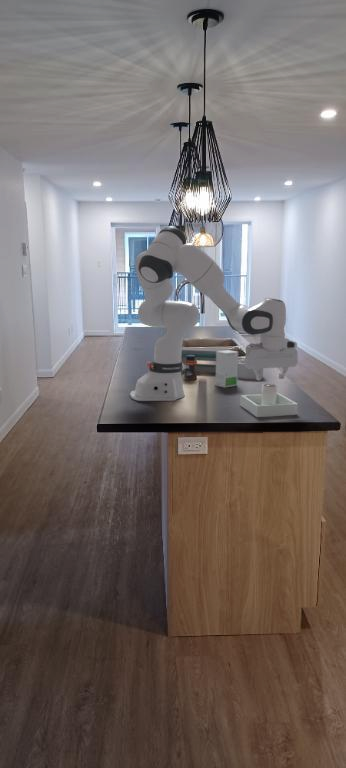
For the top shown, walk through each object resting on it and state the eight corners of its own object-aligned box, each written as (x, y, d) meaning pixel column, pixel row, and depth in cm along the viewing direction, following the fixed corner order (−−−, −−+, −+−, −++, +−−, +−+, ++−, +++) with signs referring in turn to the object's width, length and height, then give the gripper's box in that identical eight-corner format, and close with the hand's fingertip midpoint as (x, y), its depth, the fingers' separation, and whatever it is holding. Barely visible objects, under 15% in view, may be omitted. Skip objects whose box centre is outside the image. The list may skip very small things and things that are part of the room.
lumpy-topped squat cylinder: (263, 379, 252) (264, 361, 250) (236, 379, 252) (237, 361, 250) (259, 374, 262) (260, 357, 260) (233, 374, 262) (234, 357, 260)
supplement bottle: (196, 377, 254) (196, 354, 251) (197, 380, 248) (197, 356, 245) (183, 377, 253) (184, 354, 251) (184, 380, 248) (184, 356, 245)
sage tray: (256, 417, 191) (257, 406, 190) (240, 405, 206) (240, 395, 205) (297, 414, 195) (297, 403, 194) (278, 403, 210) (278, 393, 209)
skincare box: (224, 388, 233) (225, 353, 230) (214, 385, 238) (215, 351, 235) (237, 385, 239) (239, 351, 235) (227, 382, 244) (228, 349, 240)
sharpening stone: (178, 371, 268) (178, 349, 265) (180, 368, 275) (181, 347, 273) (227, 373, 264) (228, 351, 261) (229, 370, 271) (229, 349, 269)
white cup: (264, 410, 197) (265, 387, 195) (258, 406, 202) (259, 383, 200) (278, 410, 198) (279, 386, 196) (271, 406, 203) (273, 383, 201)
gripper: (249, 344, 189) (247, 382, 193) (301, 343, 195) (298, 379, 198) (242, 342, 195) (241, 378, 199) (292, 340, 201) (290, 376, 204)
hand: (270, 379), depth 198 cm, fingers open, 8 cm apart
